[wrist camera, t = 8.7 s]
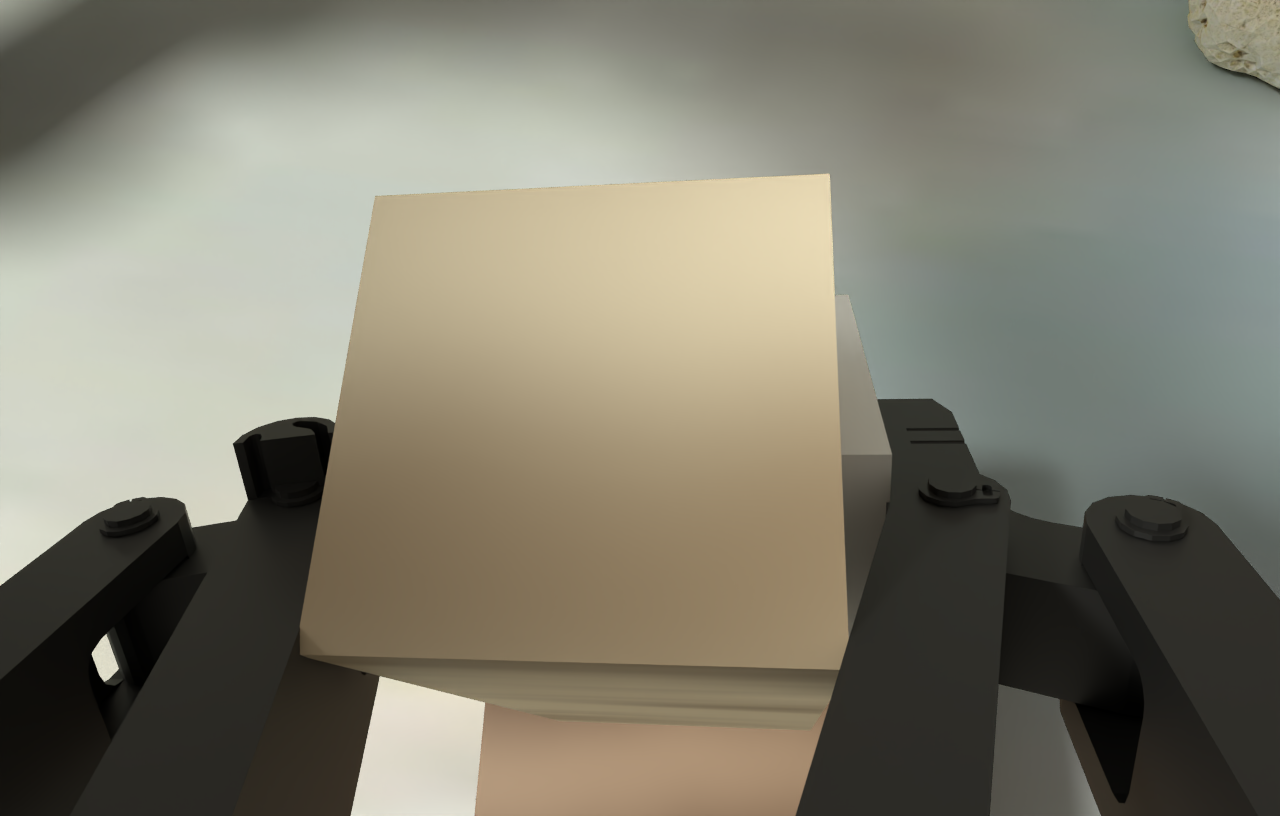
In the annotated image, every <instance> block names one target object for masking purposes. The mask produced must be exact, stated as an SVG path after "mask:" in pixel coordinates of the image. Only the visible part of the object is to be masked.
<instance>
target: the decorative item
mask: <svg viewBox="0 0 1280 816" xmlns="http://www.w3.org/2000/svg"><path fill="white" fill-rule="evenodd" d="M1188 3H1189V12H1190V13H1189V14H1188V16H1187V17H1188V25H1189V28H1190V29H1191V30H1192V32H1193V33H1194V34H1195V40H1194V41H1195V42H1196V44H1197V46H1198V48H1199V49H1200V50H1201V51H1202V52H1203V53H1204V56H1205V57H1206V59H1207V60H1208V61H1209V62H1211V63H1213V64H1215V65H1218V66H1220V67H1222V68H1225V69H1228V70H1231V71H1236V72H1243V73H1247V74H1250V75H1253V76H1256V77H1258V78H1260V79H1262V80H1263V81H1265V82H1267V83H1269V84H1271V85H1273V86H1275V87H1277V88H1279V89H1280V0H1188Z"/></svg>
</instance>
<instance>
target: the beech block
mask: <svg viewBox="0 0 1280 816" xmlns="http://www.w3.org/2000/svg"><path fill="white" fill-rule="evenodd" d="M848 640H849V634H848V610H847V585H846V560H845V536H844V511H843V487H842V462H841V438H840V413H839V388H838V364H837V339H836V315H835V290H834V266H833V241H832V216H831V192H830V174H813V175H792V176H772V177H752V178H732V179H711V180H691V181H671V182H651V183H630V184H610V185H590V186H570V187H549V188H529V189H509V190H489V191H468V192H448V193H428V194H408V195H387V196H375V200H374V206H373V211H372V217H371V223H370V228H369V234H368V240H367V246H366V251H365V257H364V263H363V268H362V274H361V280H360V285H359V291H358V297H357V302H356V308H355V314H354V320H353V325H352V331H351V337H350V342H349V348H348V354H347V359H346V365H345V371H344V377H343V382H342V388H341V394H340V399H339V405H338V411H337V416H336V422H335V428H334V433H333V439H332V445H331V451H330V456H329V462H328V468H327V473H326V479H325V485H324V490H323V496H322V502H321V508H320V513H319V519H318V525H317V530H316V536H315V542H314V547H313V553H312V559H311V564H310V570H309V576H308V582H307V587H306V593H305V599H304V604H303V610H302V616H301V621H300V655H302V656H305V657H307V658H311V659H315V660H319V661H323V662H327V663H331V664H335V665H339V666H343V667H347V668H350V669H354V670H358V671H362V672H366V673H370V674H374V675H378V676H382V677H386V678H390V679H394V680H398V681H402V682H406V683H410V684H414V685H418V686H422V687H426V688H430V689H434V690H438V691H442V692H446V693H450V694H454V695H458V696H462V697H466V698H470V699H474V700H478V701H482V702H486V703H490V704H494V705H498V706H502V707H506V708H510V709H514V710H518V711H522V712H526V713H530V714H534V715H537V716H541V717H545V718H549V719H553V720H557V721H573V722H600V723H626V724H653V725H679V726H706V727H732V728H758V729H785V730H811V729H812V727H813V726H814V724H815V723H816V721H817V720H818V718H819V717H820V715H821V713H822V712H823V710H824V709H825V707H826V706H827V704H828V703H829V701H830V699H831V696H832V693H833V690H834V686H835V683H836V680H837V676H838V673H839V670H840V666H841V663H842V660H843V656H844V653H845V650H846V646H847V643H848Z"/></svg>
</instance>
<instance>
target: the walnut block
mask: <svg viewBox="0 0 1280 816" xmlns="http://www.w3.org/2000/svg"><path fill="white" fill-rule="evenodd" d="M829 703H830V701H829ZM829 703H828V704H827V706H826V707H825V709H824V710H823V712H822V713H821V715H820V717H819V718H818V720H817V721H816V723H815V724H814V726H813V727H812V729H811V730H785V729H758V728H732V727H706V726H679V725H653V724H626V723H600V722H573V721H557V720H553V719H549V718H545V717H541V716H537V715H534V714H530V713H526V712H522V711H518V710H514V709H510V708H506V707H502V706H498V705H494V704H490V703H486V702H485V712H484V723H483V733H482V744H481V754H480V765H479V775H478V786H477V796H476V806H475V816H795V815H796V812H797V809H798V806H799V802H800V799H801V796H802V792H803V789H804V786H805V782H806V779H807V776H808V772H809V769H810V766H811V762H812V759H813V756H814V753H815V749H816V746H817V743H818V739H819V736H820V733H821V729H822V726H823V723H824V719H825V716H826V713H827V709H828V706H829Z"/></svg>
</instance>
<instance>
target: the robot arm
mask: <svg viewBox="0 0 1280 816" xmlns="http://www.w3.org/2000/svg"><path fill="white" fill-rule="evenodd" d="M835 315H836V339H837V364H838V388H839V413H840V438H841V462H842V487H843V511H844V536H845V560H846V585H847V610H848V634H849V640H848V643H847V646H846V650H845V653H844V656H843V660H842V663H841V666H840V670H839V673H838V676H837V680H836V683H835V686H834V690H833V693H832V696H831V699H830V703H829V706H828V709H827V713H826V716H825V719H824V723H823V726H822V729H821V733H820V736H819V739H818V743H817V746H816V749H815V753H814V756H813V759H812V762H811V766H810V769H809V772H808V776H807V779H806V782H805V786H804V789H803V792H802V796H801V799H800V802H799V806H798V809H797V812H796V815H795V816H990V802H991V787H992V772H993V757H994V743H995V728H996V713H997V698H998V684H1001V685H1005V686H1009V687H1013V688H1017V689H1022V690H1026V691H1030V692H1034V693H1038V694H1042V695H1046V696H1050V697H1054V698H1058V699H1060V710H1061V714H1062V717H1063V720H1064V722H1065V725H1066V727H1067V730H1068V732H1069V735H1070V737H1071V740H1072V743H1073V745H1074V748H1075V750H1076V753H1077V755H1078V758H1079V760H1080V763H1081V766H1082V768H1083V771H1084V773H1085V776H1086V778H1087V781H1088V783H1089V786H1090V789H1091V791H1092V794H1093V796H1094V799H1095V801H1096V804H1097V806H1098V809H1099V812H1100V814H1101V816H1280V600H1279V598H1278V597H1277V596H1276V595H1275V594H1274V592H1273V591H1272V590H1271V589H1270V588H1269V586H1268V585H1267V584H1266V583H1265V582H1264V580H1263V579H1262V578H1261V577H1260V576H1259V574H1258V573H1257V572H1256V571H1255V570H1254V568H1253V567H1252V566H1251V565H1250V564H1249V562H1248V561H1247V560H1246V559H1245V558H1244V556H1243V555H1242V554H1241V553H1240V552H1239V550H1238V549H1237V548H1236V547H1235V546H1234V544H1233V543H1232V542H1231V541H1230V540H1229V538H1228V537H1227V536H1226V535H1225V534H1224V533H1223V531H1222V530H1221V529H1220V528H1219V527H1218V525H1217V524H1215V523H1214V522H1213V521H1212V520H1210V519H1209V518H1208V517H1207V516H1205V515H1204V514H1203V513H1201V512H1199V511H1196V510H1194V509H1192V508H1190V507H1187V506H1185V505H1183V504H1181V503H1180V502H1177V501H1174V500H1171V499H1167V498H1166V500H1164V499H1163V497H1158V496H1152V495H1147V496H1136V495H1126V496H1114V497H1107V498H1105V499H1102V500H1099V501H1097V502H1094V503H1092V504H1091V506H1090V507H1089V508H1088V509H1087V510H1086V512H1085V516H1084V523H1083V528H1081V527H1075V526H1069V525H1063V524H1057V523H1051V522H1047V521H1042V520H1038V519H1033V518H1030V517H1027V516H1024V515H1021V514H1018V513H1016V512H1014V511H1012V510H1010V505H1011V500H1010V497H1009V494H1008V492H1007V490H1006V489H1005V488H1004V487H1002V486H1001V485H1000V484H999V483H997V482H996V481H995V480H992V479H990V478H987V477H985V476H982V475H980V474H979V472H978V469H977V467H976V465H975V463H974V461H973V458H972V456H971V454H970V452H969V449H968V447H967V445H966V444H965V443H964V438H963V436H962V434H961V432H960V431H959V427H958V425H957V423H956V420H955V418H954V416H953V414H952V412H951V411H949V410H948V409H946V408H945V407H943V406H942V405H940V404H939V403H937V402H936V401H934V400H933V399H877V397H876V394H875V390H874V386H873V383H872V379H871V375H870V372H869V368H868V364H867V361H866V357H865V353H864V350H863V346H862V342H861V339H860V335H859V331H858V328H857V324H856V320H855V317H854V313H853V309H852V306H851V302H850V298H849V295H835ZM334 428H335V423H334V422H332V421H331V420H329V419H323V418H317V417H305V418H293V419H287V420H282V421H276V422H273V423H270V424H267V425H264V426H261V427H258V428H256V429H254V430H252V431H250V432H248V433H246V434H244V435H242V436H241V437H240V438H239V439H238V440H237V441H235V442H234V443H233V446H234V449H235V453H236V457H237V460H238V464H239V468H240V472H241V475H242V479H243V483H244V486H245V490H246V494H247V498H248V501H247V503H246V505H245V507H244V508H243V510H242V512H241V514H240V515H239V517H238V519H237V520H236V521H231V522H225V523H218V524H212V525H206V526H200V527H194V528H192V527H191V523H190V520H189V517H188V513H187V510H186V507H185V504H184V503H182V502H181V501H179V500H177V499H173V498H165V497H156V498H145V497H141V498H135V499H132V501H131V502H130V501H129V500H127V501H123V502H120V503H117V504H116V505H115V506H114V507H112V508H110V509H107V510H105V511H102V512H100V513H98V514H96V515H95V516H93V517H91V518H90V519H88V520H86V521H85V522H83V523H82V524H81V525H79V526H78V527H77V528H75V529H74V530H73V531H71V532H70V533H69V534H68V535H66V536H65V537H64V538H62V539H61V540H60V541H58V542H57V543H56V544H54V545H53V546H52V547H51V548H49V549H48V550H47V551H45V552H44V553H43V554H41V555H40V556H39V557H37V558H36V559H35V560H34V561H32V562H31V563H30V564H28V565H27V566H26V567H24V568H23V569H22V570H20V571H19V572H18V573H17V574H15V575H14V576H13V577H11V578H10V579H9V580H7V581H6V582H5V583H3V584H2V585H1V586H0V816H350V815H351V811H352V806H353V801H354V796H355V791H356V787H357V782H358V777H359V772H360V768H361V763H362V758H363V753H364V749H365V744H366V739H367V734H368V729H369V725H370V720H371V715H372V710H373V706H374V701H375V696H376V691H377V686H378V682H379V677H380V676H378V675H374V674H370V673H366V672H362V671H358V670H354V669H350V668H347V667H343V666H339V665H335V664H331V663H327V662H323V661H319V660H315V659H311V658H307V657H305V656H302V655H300V621H301V616H302V610H303V604H304V599H305V593H306V587H307V582H308V576H309V570H310V564H311V559H312V553H313V547H314V542H315V536H316V530H317V525H318V519H319V513H320V508H321V502H322V496H323V490H324V485H325V479H326V473H327V468H328V462H329V456H330V451H331V445H332V439H333V433H334ZM105 634H107V637H108V639H109V642H110V645H111V648H112V650H113V653H114V656H115V659H116V661H117V664H118V667H119V670H118V671H117V672H116V673H115V674H114V675H113V676H112V677H111V678H110V679H109V680H107V681H105V682H104V681H103V680H102V678H101V677H100V676H99V673H98V671H97V668H96V665H95V663H94V660H93V657H92V655H91V654H92V651H93V650H94V648H95V647H96V646H97V644H98V643H99V641H100V640H101V638H102V637H103V636H104V635H105Z"/></svg>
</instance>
